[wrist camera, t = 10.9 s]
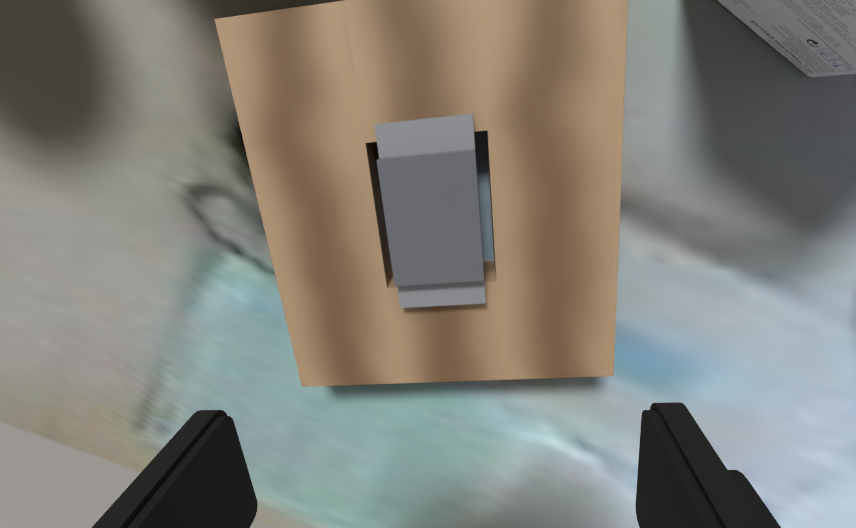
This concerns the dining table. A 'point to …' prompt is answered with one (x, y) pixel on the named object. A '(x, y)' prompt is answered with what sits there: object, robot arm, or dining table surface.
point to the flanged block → (432, 210)
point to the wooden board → (496, 169)
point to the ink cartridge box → (805, 31)
